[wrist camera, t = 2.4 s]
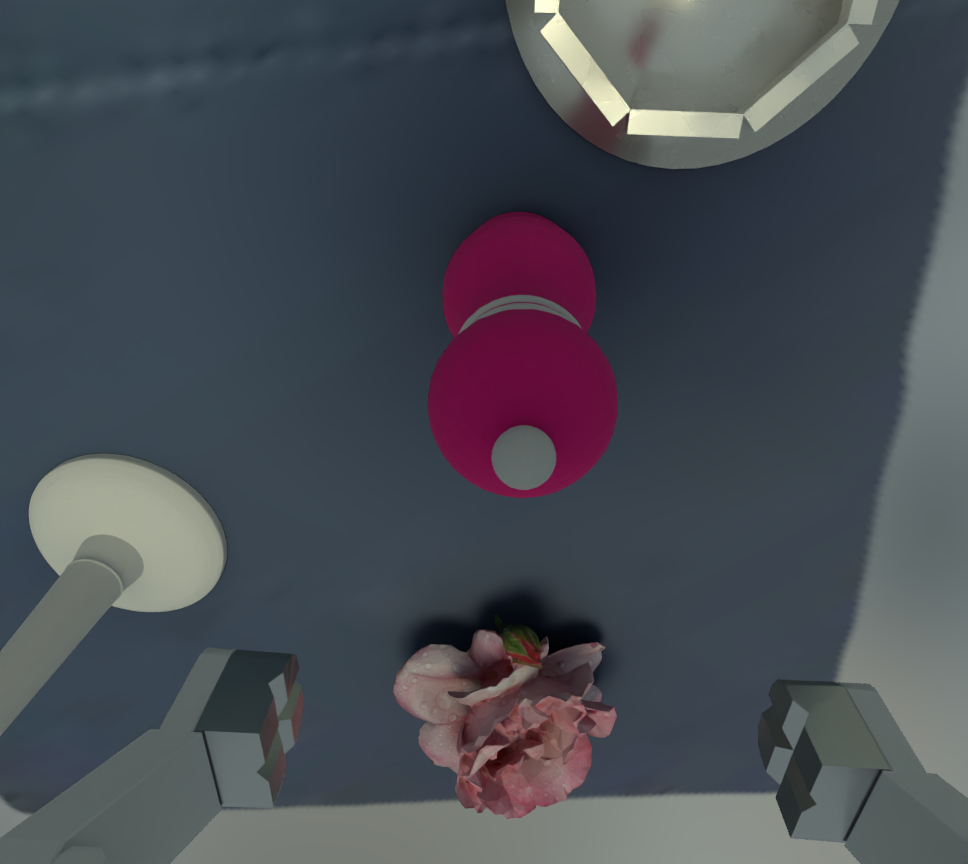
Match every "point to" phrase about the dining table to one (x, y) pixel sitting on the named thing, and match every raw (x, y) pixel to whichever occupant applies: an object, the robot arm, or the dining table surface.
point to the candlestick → (108, 559)
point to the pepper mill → (521, 361)
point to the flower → (507, 716)
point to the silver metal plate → (692, 69)
